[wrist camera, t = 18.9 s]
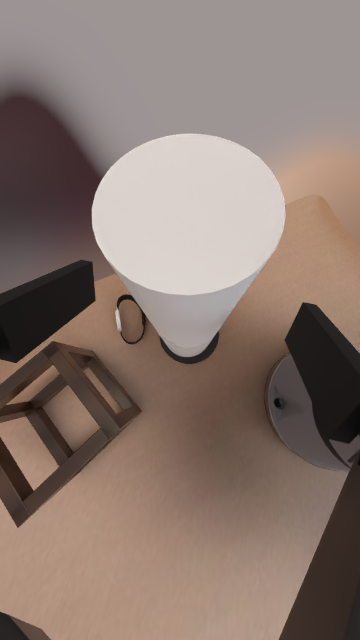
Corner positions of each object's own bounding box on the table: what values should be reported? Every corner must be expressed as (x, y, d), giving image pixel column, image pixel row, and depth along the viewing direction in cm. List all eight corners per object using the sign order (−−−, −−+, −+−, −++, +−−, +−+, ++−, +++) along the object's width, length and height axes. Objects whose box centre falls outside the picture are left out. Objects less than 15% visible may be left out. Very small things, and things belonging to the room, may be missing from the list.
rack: (142, 411, 30) (120, 428, 20) (75, 475, 28) (17, 528, 18) (92, 351, 32) (52, 340, 23) (28, 406, 31) (-45, 421, 21)
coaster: (230, 335, 32) (231, 334, 32) (188, 376, 31) (188, 376, 30) (189, 295, 34) (189, 294, 34) (148, 333, 33) (147, 332, 32)
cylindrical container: (179, 303, 33) (160, 111, 9) (219, 326, 32) (317, 176, 8) (154, 340, 32) (51, 233, 8) (195, 366, 31) (224, 335, 6)
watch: (114, 302, 34) (106, 294, 31) (142, 296, 34) (137, 287, 31) (121, 348, 32) (113, 345, 29) (151, 341, 32) (146, 337, 29)
